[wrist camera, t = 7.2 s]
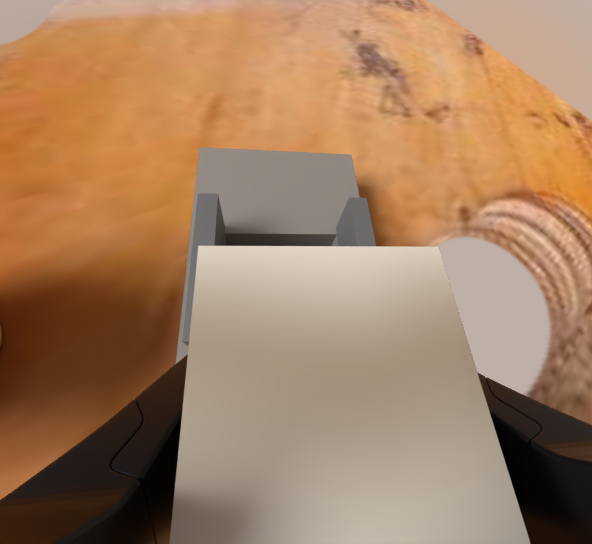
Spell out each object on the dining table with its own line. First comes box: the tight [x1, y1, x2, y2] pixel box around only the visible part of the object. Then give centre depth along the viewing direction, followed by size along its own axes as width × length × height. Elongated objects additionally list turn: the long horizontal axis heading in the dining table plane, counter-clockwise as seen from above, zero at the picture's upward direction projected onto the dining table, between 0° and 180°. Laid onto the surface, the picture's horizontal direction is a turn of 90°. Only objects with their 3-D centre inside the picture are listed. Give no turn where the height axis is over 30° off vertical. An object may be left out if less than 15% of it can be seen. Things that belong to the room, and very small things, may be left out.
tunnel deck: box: [176, 147, 376, 363], centre depth 16 cm, size 20×11×6 cm, turn 3°
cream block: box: [169, 246, 531, 544], centre depth 8 cm, size 5×5×8 cm
